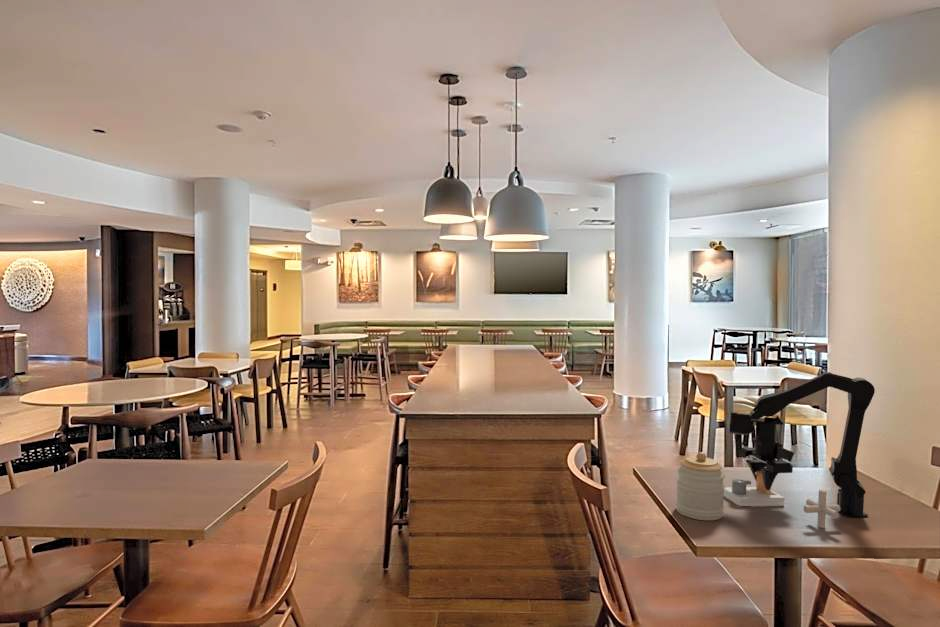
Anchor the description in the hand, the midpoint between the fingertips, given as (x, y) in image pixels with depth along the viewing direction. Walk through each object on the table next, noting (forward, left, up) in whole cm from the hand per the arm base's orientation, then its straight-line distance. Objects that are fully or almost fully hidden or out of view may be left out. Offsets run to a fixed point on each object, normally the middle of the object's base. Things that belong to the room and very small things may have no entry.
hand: (763, 487), depth 185 cm
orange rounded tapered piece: (0, 0, -1) cm, 1 cm away
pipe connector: (-21, -3, -4) cm, 22 cm away
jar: (-9, +26, -4) cm, 27 cm away
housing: (0, +4, -4) cm, 5 cm away
